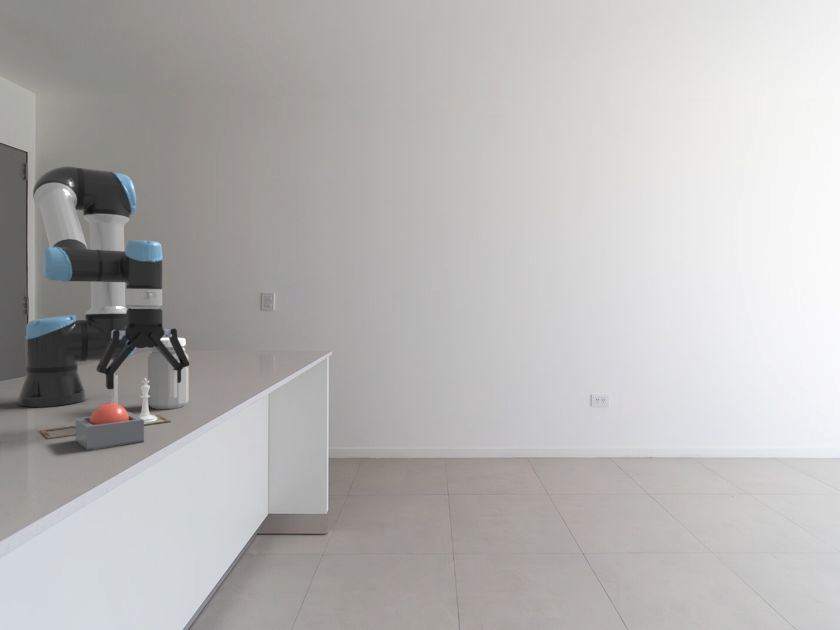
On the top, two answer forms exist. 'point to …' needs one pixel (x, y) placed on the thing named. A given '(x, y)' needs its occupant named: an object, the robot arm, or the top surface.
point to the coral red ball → (108, 414)
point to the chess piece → (146, 403)
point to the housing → (109, 433)
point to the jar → (166, 379)
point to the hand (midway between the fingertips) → (145, 400)
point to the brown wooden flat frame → (158, 421)
